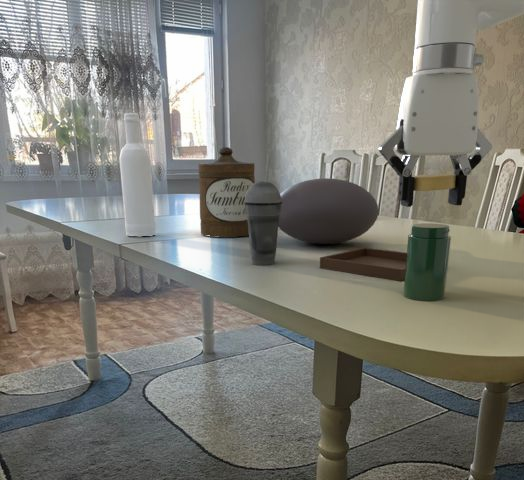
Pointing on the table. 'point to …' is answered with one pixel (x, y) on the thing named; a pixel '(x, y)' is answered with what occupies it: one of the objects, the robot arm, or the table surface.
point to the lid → (434, 182)
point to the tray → (368, 263)
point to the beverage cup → (263, 220)
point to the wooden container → (224, 195)
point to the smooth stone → (326, 211)
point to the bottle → (136, 181)
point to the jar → (427, 262)
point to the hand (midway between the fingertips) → (430, 204)
